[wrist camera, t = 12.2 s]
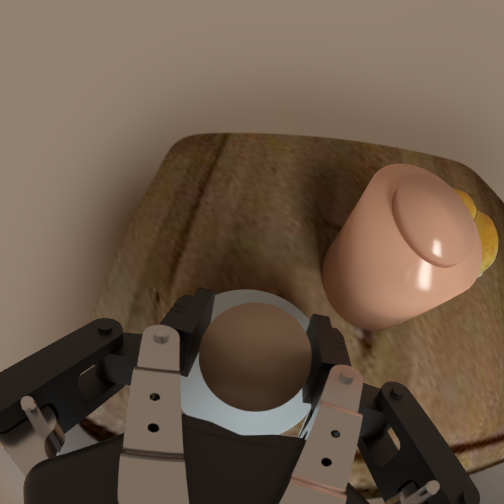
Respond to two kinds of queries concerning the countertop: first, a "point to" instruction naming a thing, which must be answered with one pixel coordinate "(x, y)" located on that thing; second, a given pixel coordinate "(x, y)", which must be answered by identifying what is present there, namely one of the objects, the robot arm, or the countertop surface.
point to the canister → (401, 250)
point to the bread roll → (482, 232)
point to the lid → (250, 365)
